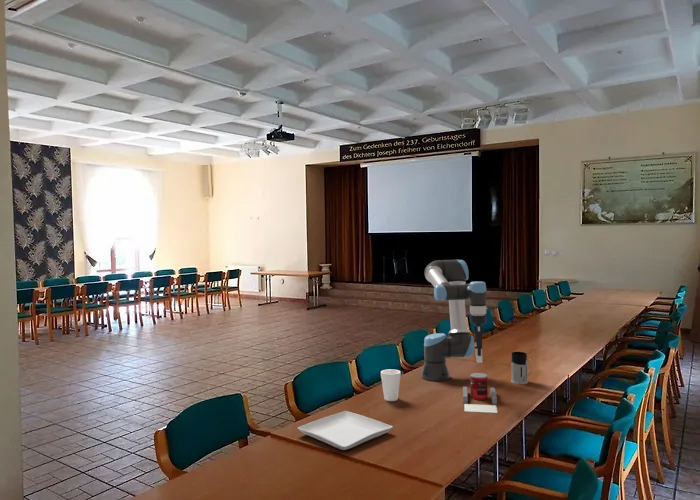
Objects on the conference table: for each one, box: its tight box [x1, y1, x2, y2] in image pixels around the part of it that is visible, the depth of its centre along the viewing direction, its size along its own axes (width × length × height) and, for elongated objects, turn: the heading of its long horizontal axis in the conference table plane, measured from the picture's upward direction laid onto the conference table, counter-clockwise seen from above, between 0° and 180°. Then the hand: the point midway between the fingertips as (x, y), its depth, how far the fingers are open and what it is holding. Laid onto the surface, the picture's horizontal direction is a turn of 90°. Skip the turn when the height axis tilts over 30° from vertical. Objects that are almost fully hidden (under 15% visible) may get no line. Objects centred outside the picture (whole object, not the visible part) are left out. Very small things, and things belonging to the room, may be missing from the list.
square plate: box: [297, 410, 394, 451], centre depth 205 cm, size 27×27×4 cm
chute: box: [462, 386, 499, 414], centre depth 241 cm, size 15×28×3 cm, turn 168°
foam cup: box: [380, 368, 402, 402], centre depth 249 cm, size 10×9×13 cm
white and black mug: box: [510, 351, 534, 385], centre depth 271 cm, size 9×14×15 cm, turn 21°
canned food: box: [469, 372, 489, 401], centre depth 248 cm, size 8×8×11 cm
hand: (478, 359), depth 248 cm, fingers open, 13 cm apart
